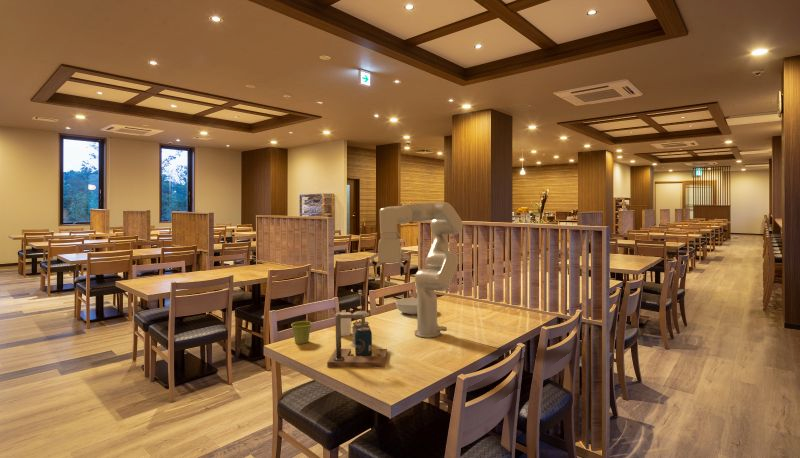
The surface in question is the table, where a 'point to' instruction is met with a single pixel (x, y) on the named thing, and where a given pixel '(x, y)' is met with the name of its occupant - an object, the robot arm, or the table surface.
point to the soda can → (363, 341)
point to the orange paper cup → (345, 324)
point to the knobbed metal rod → (338, 333)
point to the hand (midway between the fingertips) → (390, 275)
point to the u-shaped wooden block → (358, 359)
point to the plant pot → (301, 331)
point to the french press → (359, 324)
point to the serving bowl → (407, 305)
